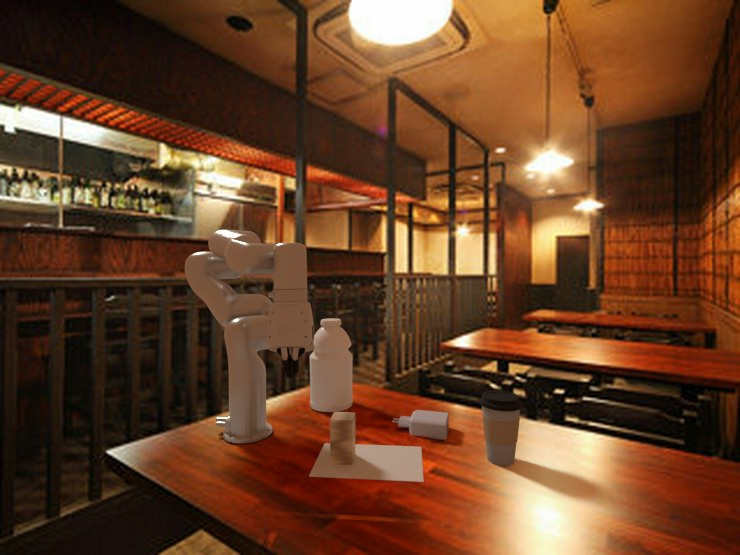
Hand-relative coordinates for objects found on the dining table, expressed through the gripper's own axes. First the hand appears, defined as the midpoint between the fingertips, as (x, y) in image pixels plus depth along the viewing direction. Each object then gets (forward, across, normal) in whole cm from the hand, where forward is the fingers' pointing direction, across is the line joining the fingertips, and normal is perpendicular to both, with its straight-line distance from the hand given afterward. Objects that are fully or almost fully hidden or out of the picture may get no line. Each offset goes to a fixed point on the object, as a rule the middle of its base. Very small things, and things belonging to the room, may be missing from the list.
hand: (291, 376), depth 91 cm
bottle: (+20, +2, +37) cm, 42 cm away
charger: (+20, +30, +19) cm, 41 cm away
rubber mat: (+20, +18, 0) cm, 26 cm away
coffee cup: (+20, +48, +4) cm, 52 cm away
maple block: (+19, +12, 0) cm, 22 cm away
